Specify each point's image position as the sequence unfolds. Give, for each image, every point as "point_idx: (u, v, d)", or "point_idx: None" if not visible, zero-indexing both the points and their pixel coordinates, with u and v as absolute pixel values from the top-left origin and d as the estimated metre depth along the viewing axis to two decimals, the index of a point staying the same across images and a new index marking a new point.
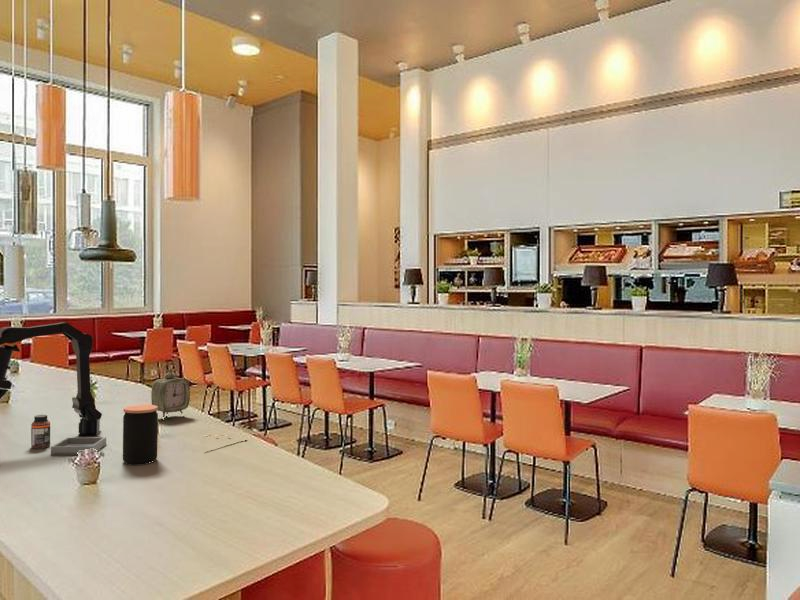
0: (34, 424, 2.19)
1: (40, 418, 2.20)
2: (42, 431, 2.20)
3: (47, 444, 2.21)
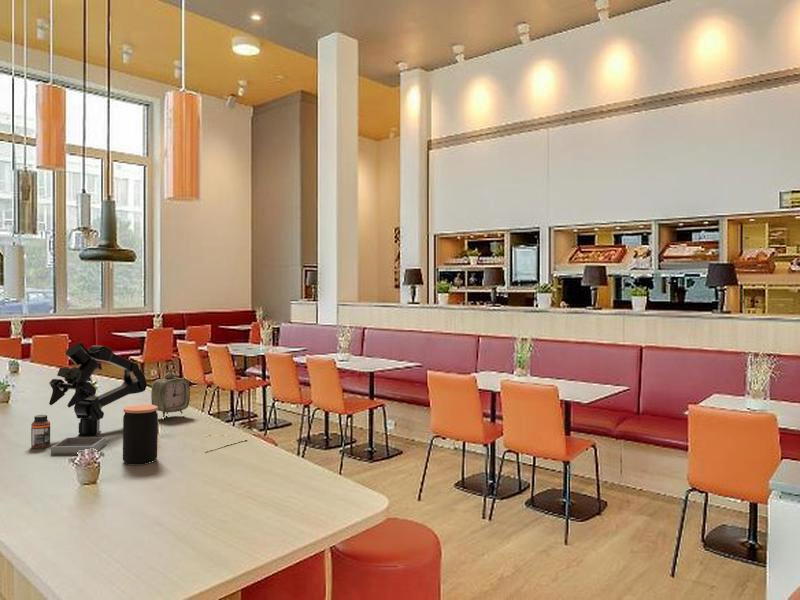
0: (34, 424, 2.19)
1: (40, 418, 2.20)
2: (42, 431, 2.20)
3: (47, 444, 2.21)
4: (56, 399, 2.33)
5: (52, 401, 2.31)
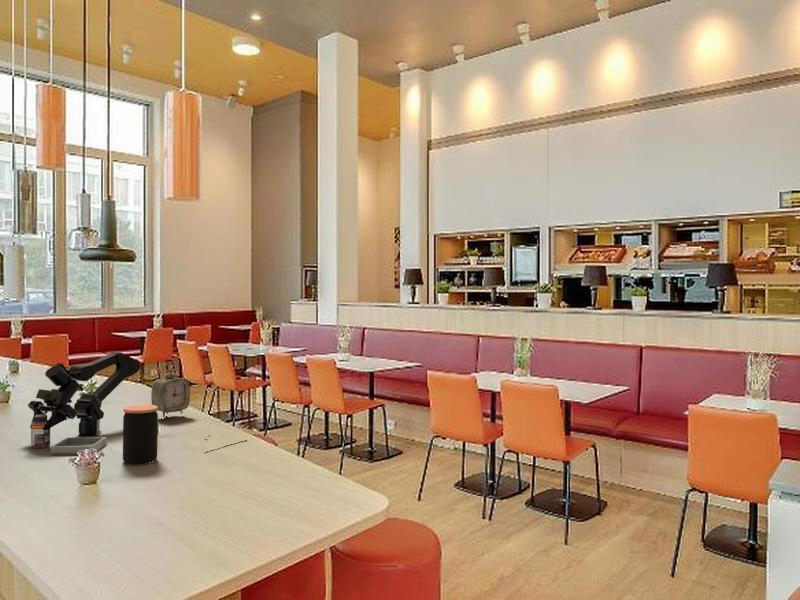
0: (34, 424, 2.19)
1: (40, 418, 2.20)
2: (42, 431, 2.20)
3: (47, 444, 2.21)
4: None
5: None
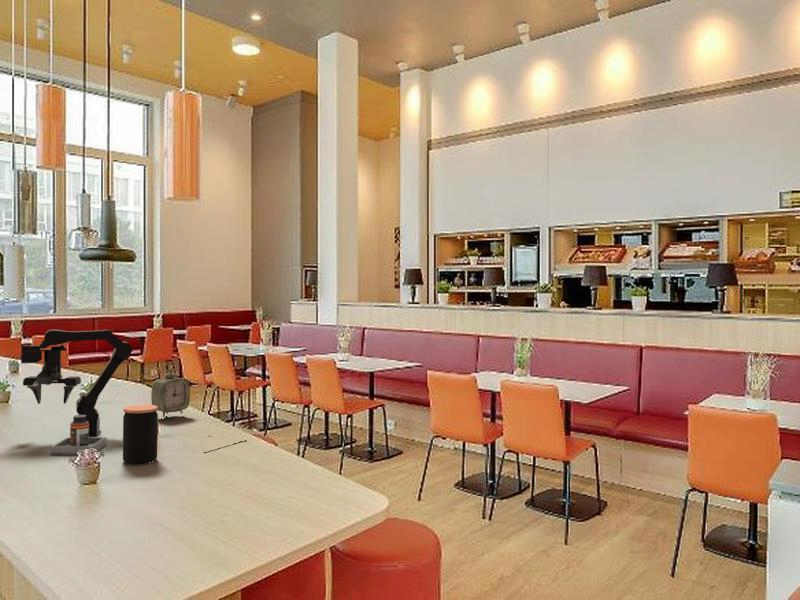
0: (79, 424, 2.16)
1: (83, 418, 2.18)
2: (87, 430, 2.18)
3: (88, 443, 2.20)
4: (40, 395, 2.36)
5: (39, 400, 2.35)
